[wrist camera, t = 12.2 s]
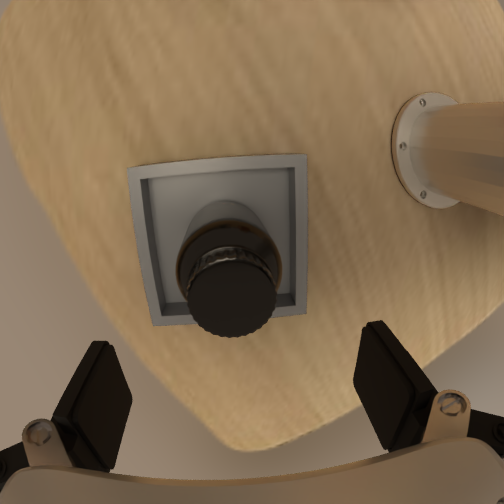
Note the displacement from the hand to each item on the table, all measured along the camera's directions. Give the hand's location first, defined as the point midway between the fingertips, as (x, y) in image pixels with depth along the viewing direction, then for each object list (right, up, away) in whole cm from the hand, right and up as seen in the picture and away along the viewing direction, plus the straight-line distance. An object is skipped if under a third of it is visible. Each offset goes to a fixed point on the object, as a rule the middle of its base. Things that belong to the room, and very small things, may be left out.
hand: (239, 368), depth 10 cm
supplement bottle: (-2, +6, +17) cm, 18 cm away
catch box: (-2, +6, +17) cm, 18 cm away
